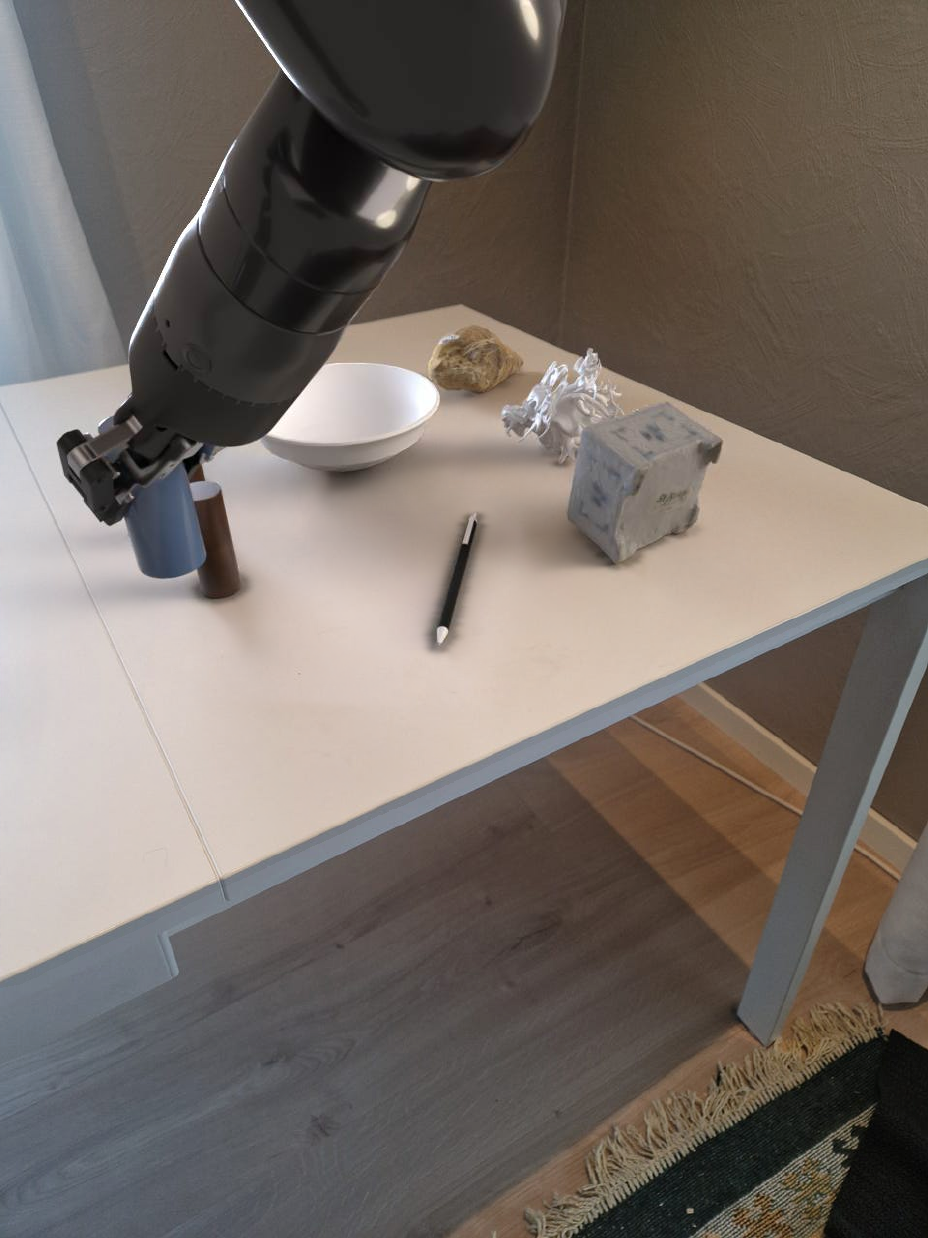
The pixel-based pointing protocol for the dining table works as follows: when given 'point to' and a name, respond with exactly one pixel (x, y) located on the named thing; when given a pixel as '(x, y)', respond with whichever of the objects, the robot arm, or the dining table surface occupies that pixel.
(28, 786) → the dining table surface
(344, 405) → the bowl
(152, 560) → the cylinder
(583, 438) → the incense holder
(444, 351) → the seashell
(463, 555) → the pen
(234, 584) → the pegs
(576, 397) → the figurine
